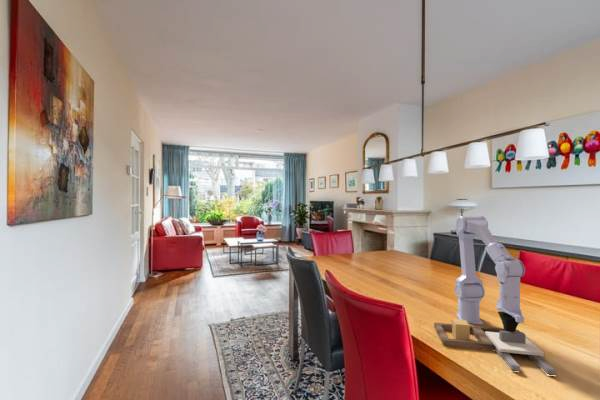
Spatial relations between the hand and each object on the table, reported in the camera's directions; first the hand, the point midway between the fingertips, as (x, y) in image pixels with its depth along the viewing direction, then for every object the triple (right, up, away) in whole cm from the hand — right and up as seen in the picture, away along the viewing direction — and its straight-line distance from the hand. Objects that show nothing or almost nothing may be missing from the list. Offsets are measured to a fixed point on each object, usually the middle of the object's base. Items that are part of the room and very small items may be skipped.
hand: (509, 334), depth 98 cm
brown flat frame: (-7, -5, 0) cm, 9 cm away
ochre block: (-13, -5, +7) cm, 15 cm away
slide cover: (0, -2, -2) cm, 3 cm away
